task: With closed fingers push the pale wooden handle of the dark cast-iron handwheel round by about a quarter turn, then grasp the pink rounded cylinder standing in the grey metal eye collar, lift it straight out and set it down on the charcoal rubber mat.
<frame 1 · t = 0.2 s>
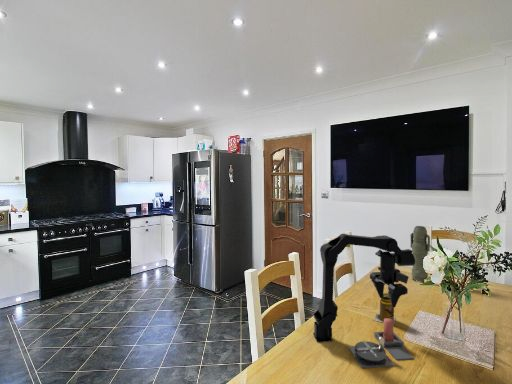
hand: (387, 302, 120), 14 cm above the table, fingers open, 9 cm apart
eye collar: (388, 341, 116), on the table
mat: (399, 353, 108), on the table
handwheel: (370, 345, 106), point 4 cm above the table, hinge at 0.0°
wheel base: (370, 356, 107), on the table
condiment: (384, 319, 134), on the table
pink rounded cylinder: (388, 331, 116), in the eye collar
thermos: (419, 280, 183), on the table
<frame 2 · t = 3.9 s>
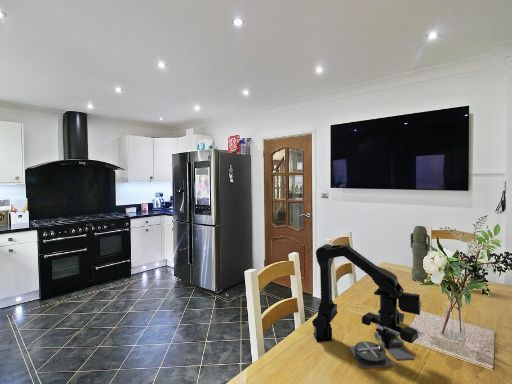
hand: (388, 348, 105), 4 cm above the table, fingers closed
handwheel: (370, 345, 106), point 4 cm above the table, hinge at 2.1°, touching gripper
everything else where it was.
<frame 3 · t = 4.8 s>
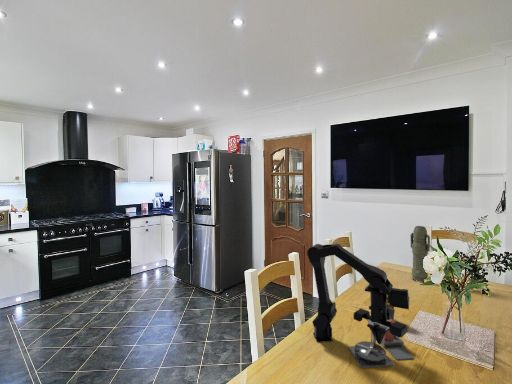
hand: (379, 343, 108), 4 cm above the table, fingers closed
handwheel: (370, 345, 106), point 4 cm above the table, hinge at 48.2°, touching gripper
everything else where it was.
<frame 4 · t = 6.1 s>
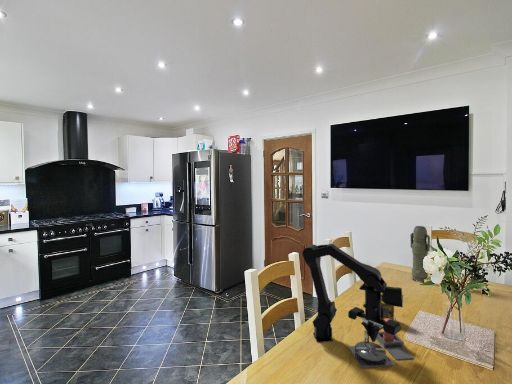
hand: (373, 341, 109), 4 cm above the table, fingers closed
handwheel: (370, 345, 106), point 4 cm above the table, hinge at 79.5°, touching gripper
everything else where it was.
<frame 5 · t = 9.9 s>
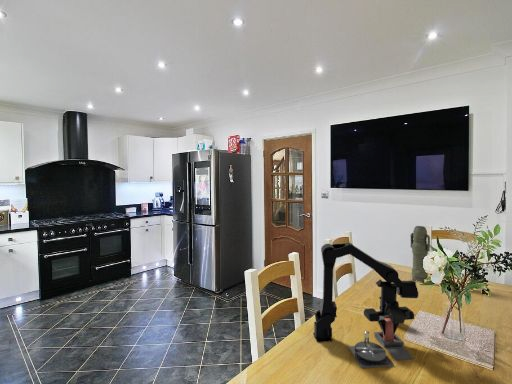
hand: (388, 334, 116), 3 cm above the table, fingers closed on pink rounded cylinder, 4 cm apart
handwheel: (370, 345, 106), point 4 cm above the table, hinge at 79.5°
pink rounded cylinder: (388, 331, 116), in the eye collar, touching gripper
everything else where it was.
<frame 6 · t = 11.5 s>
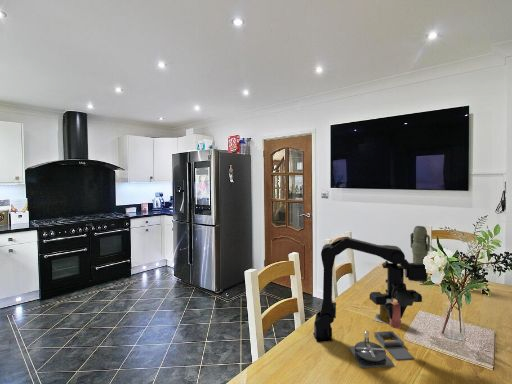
hand: (395, 318, 111), 12 cm above the table, fingers closed on pink rounded cylinder, 4 cm apart
pink rounded cylinder: (395, 315, 111), point 13 cm above the table, touching gripper
everything else where it was.
when the fingers open (5 cm above the table, at t = 13.4 s): pink rounded cylinder stays where it is, resting on mat.
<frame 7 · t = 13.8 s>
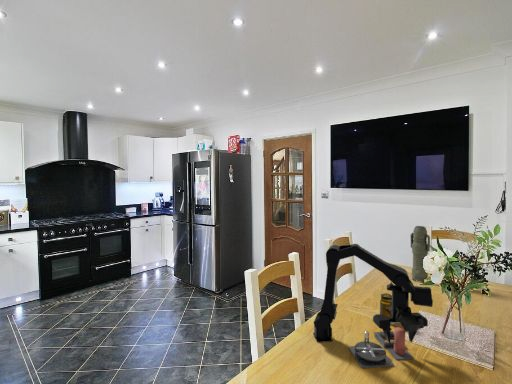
hand: (399, 342, 108), 5 cm above the table, fingers open, 8 cm apart
pink rounded cylinder: (399, 341, 108), on the mat
everything else where it was.
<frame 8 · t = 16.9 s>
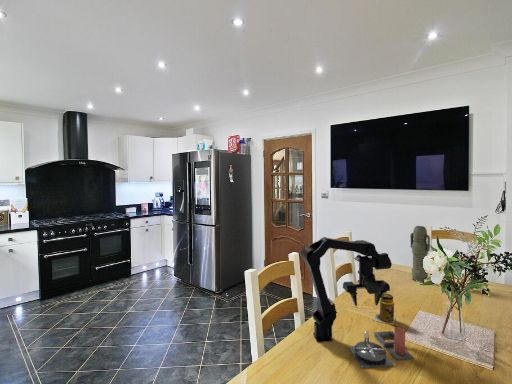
hand: (366, 305, 122), 12 cm above the table, fingers open, 9 cm apart
nothing on the table moved.
at the end: handwheel at +80° (first picture: +0°); pink rounded cylinder inside the target area (0.0 cm from its centre), resting on mat; pink rounded cylinder tilted 0° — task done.
